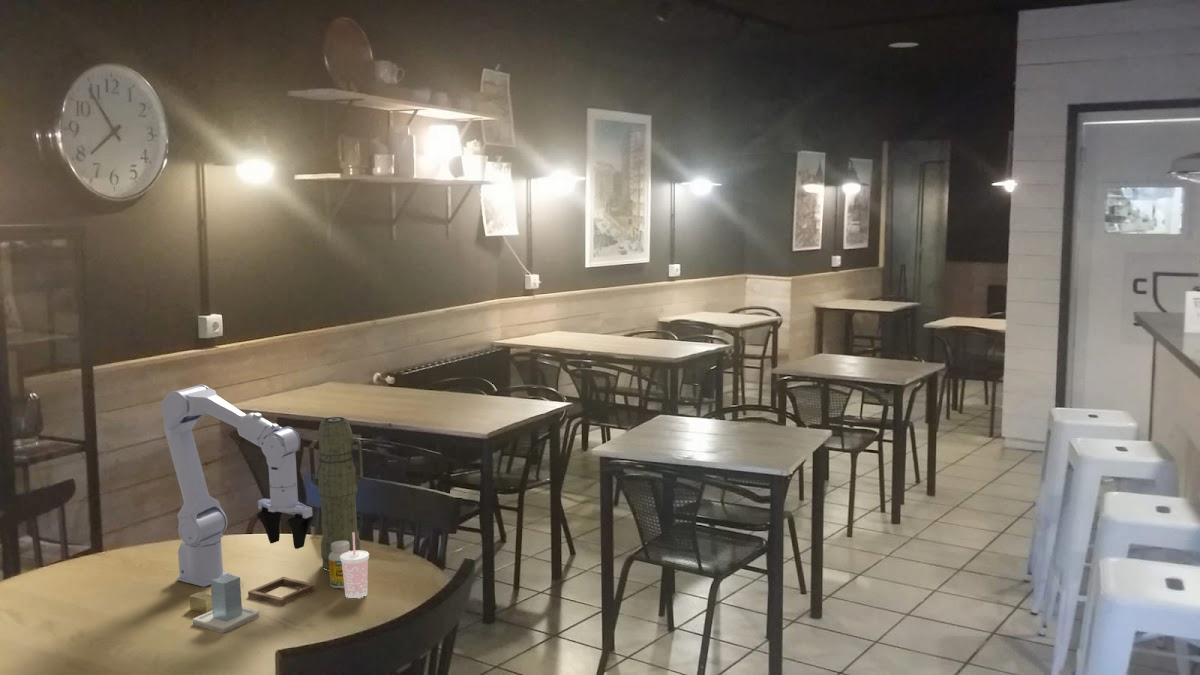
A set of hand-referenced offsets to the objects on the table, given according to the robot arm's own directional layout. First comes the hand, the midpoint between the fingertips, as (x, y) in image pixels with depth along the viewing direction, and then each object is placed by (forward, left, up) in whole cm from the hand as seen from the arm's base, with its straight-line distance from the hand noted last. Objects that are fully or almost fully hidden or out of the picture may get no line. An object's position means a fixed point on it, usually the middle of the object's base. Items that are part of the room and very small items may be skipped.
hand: (286, 544), depth 224 cm
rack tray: (+1, -18, -10) cm, 21 cm away
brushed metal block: (+1, -18, -10) cm, 20 cm away
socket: (0, -2, -10) cm, 11 cm away
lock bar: (-8, -16, -10) cm, 21 cm away
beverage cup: (+15, +5, -11) cm, 19 cm away
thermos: (-1, +17, -11) cm, 20 cm away
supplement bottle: (+8, +8, -11) cm, 16 cm away
